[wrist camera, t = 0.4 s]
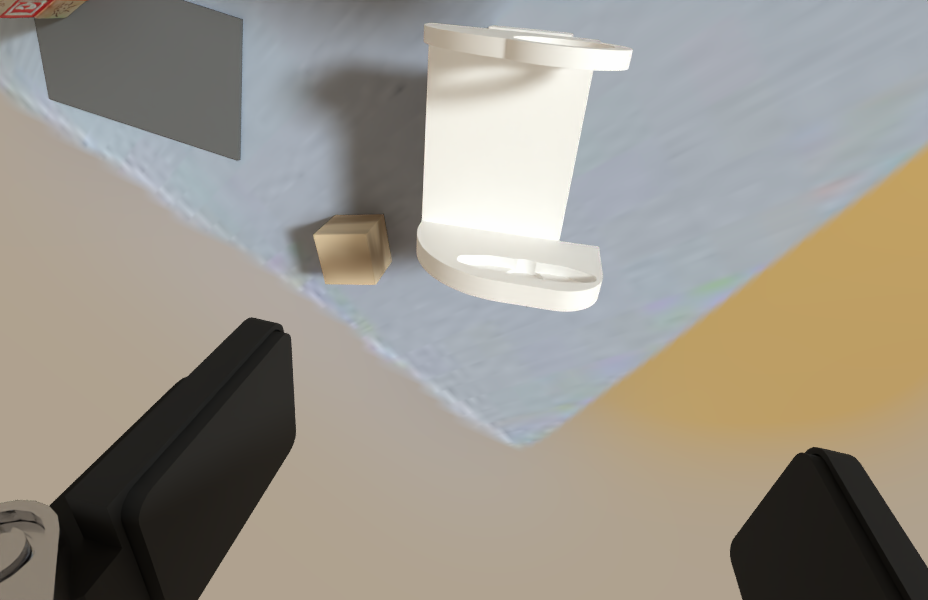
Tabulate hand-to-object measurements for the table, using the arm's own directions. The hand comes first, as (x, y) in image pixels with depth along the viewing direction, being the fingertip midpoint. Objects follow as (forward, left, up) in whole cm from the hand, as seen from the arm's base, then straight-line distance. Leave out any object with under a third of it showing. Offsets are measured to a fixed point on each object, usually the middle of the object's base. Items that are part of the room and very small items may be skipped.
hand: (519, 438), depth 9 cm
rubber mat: (+7, -36, -36) cm, 51 cm away
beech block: (+17, -14, -36) cm, 42 cm away
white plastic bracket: (+2, -2, -36) cm, 36 cm away
